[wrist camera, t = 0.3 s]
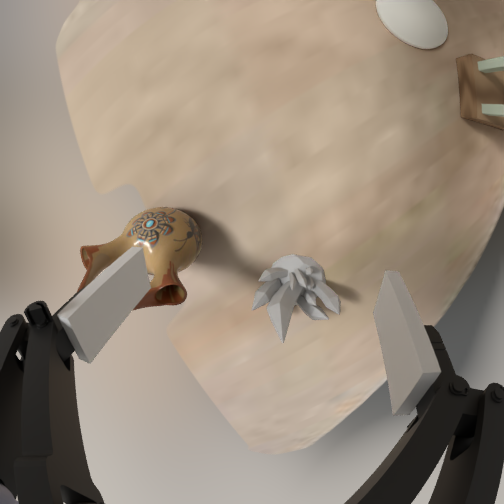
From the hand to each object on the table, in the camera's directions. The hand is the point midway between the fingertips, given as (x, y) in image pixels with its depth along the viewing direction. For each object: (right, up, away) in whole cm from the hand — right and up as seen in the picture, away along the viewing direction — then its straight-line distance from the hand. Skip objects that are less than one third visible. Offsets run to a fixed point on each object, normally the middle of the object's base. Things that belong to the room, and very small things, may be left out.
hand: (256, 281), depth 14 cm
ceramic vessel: (-12, +6, +31) cm, 34 cm away
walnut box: (+36, +26, +11) cm, 46 cm away
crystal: (+8, -3, +32) cm, 33 cm away
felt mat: (+23, +36, +8) cm, 44 cm away
